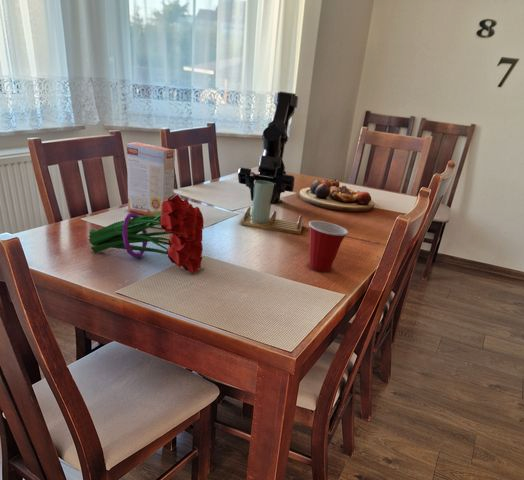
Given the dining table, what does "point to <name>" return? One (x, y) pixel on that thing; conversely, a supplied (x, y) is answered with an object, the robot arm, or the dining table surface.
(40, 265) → the dining table surface
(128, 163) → the cracker box
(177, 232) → the bouquet
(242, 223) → the drying rack
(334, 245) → the plastic cup
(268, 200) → the tumbler
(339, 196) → the wooden plate
